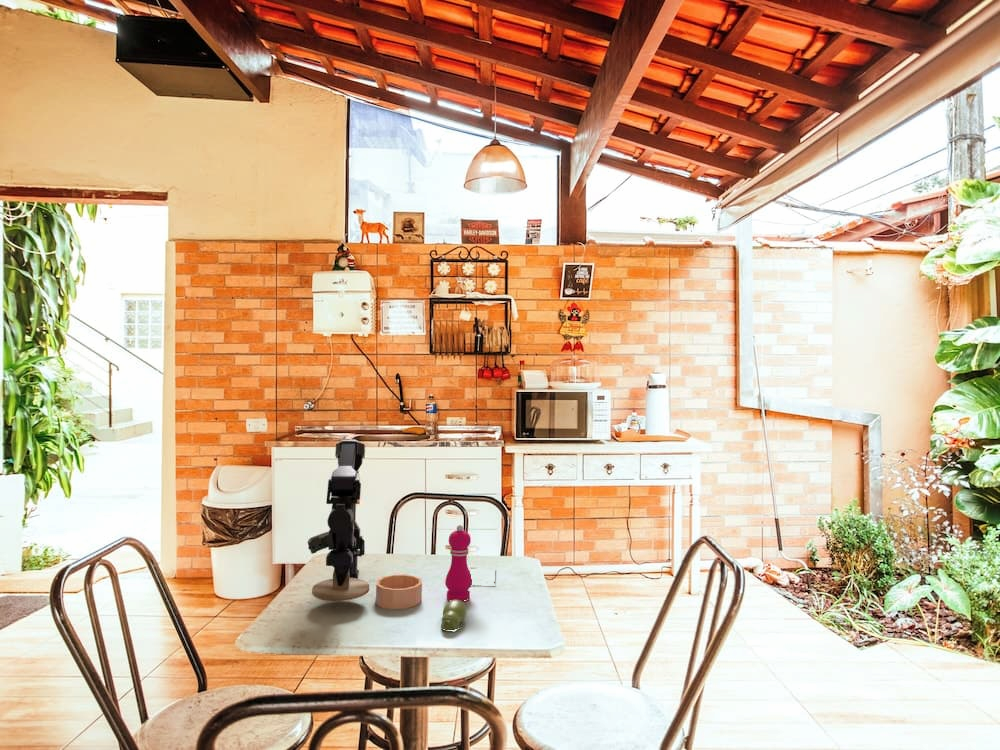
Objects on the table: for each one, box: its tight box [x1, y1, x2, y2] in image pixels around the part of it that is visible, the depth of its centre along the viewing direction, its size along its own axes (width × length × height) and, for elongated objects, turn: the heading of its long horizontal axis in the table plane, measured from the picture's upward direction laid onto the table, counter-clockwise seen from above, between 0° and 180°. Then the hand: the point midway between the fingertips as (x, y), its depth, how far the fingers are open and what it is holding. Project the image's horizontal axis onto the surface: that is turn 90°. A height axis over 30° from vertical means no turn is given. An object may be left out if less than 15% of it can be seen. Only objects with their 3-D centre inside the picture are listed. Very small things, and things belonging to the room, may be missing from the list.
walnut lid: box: [311, 568, 370, 602], centre depth 157 cm, size 14×14×5 cm
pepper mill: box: [444, 524, 472, 602], centre depth 164 cm, size 7×7×20 cm
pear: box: [440, 600, 468, 630], centre depth 146 cm, size 6×5×10 cm
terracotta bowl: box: [375, 573, 423, 610], centre depth 162 cm, size 12×12×5 cm
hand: (341, 582), depth 157 cm, fingers closed on walnut lid, 4 cm apart
